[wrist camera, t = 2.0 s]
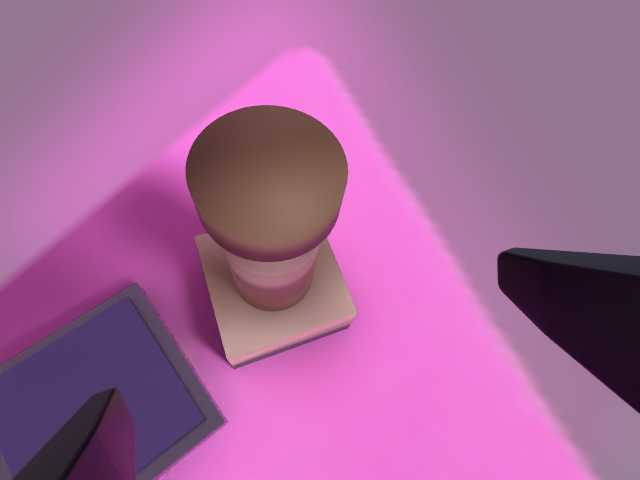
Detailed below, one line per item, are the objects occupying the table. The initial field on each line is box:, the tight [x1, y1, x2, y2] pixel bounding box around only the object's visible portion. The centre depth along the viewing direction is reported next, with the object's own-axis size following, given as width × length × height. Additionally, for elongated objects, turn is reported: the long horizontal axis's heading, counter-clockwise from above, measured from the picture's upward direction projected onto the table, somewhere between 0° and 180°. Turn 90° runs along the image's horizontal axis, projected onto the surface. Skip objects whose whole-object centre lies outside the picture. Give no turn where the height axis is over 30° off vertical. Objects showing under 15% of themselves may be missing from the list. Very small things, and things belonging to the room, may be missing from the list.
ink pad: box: [0, 283, 228, 480], centre depth 17 cm, size 8×8×1 cm
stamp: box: [186, 105, 358, 369], centre depth 16 cm, size 6×6×11 cm
